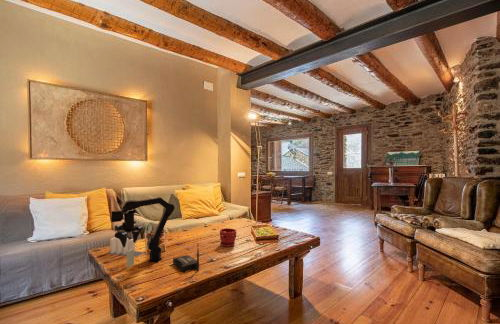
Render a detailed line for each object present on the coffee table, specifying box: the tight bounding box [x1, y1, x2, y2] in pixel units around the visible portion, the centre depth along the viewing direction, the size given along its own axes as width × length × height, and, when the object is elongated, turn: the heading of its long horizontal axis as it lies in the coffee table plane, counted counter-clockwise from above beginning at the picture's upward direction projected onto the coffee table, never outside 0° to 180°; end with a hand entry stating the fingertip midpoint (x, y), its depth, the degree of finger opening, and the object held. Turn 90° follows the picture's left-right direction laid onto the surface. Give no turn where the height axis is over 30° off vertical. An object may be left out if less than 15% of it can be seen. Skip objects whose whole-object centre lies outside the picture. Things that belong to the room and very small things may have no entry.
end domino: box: [109, 236, 118, 253], centre depth 182 cm, size 1×5×10 cm, turn 168°
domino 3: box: [128, 238, 136, 252], centre depth 179 cm, size 1×5×10 cm, turn 168°
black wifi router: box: [172, 242, 200, 273], centre depth 158 cm, size 20×14×17 cm
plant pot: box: [219, 228, 237, 247], centre depth 200 cm, size 13×13×12 cm
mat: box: [105, 250, 145, 258], centre depth 180 cm, size 25×9×1 cm, turn 78°
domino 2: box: [122, 237, 130, 254], centre depth 180 cm, size 1×5×10 cm, turn 168°
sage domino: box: [126, 249, 135, 269], centre depth 158 cm, size 1×5×10 cm, turn 168°
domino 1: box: [116, 238, 122, 254], centre depth 181 cm, size 1×5×10 cm, turn 168°
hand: (129, 244), depth 160 cm, fingers open, 9 cm apart
